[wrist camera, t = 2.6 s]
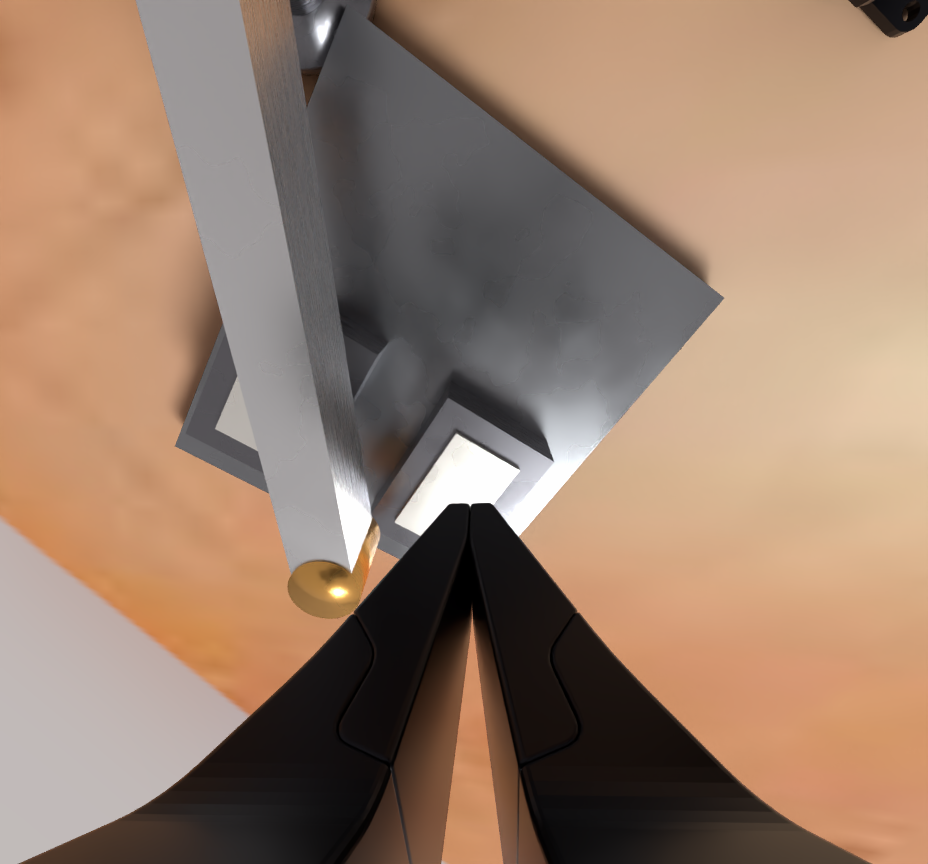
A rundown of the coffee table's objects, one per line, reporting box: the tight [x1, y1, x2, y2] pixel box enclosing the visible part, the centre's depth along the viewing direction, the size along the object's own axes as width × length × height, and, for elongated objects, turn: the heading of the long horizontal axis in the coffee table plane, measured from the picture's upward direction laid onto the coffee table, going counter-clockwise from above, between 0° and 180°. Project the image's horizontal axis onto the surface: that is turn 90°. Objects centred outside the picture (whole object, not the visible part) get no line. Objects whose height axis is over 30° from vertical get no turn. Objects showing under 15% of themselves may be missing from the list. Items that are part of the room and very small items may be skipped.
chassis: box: [175, 4, 724, 559], centre depth 17 cm, size 18×16×3 cm
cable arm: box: [136, 0, 380, 619], centre depth 12 cm, size 18×2×3 cm, turn 2°
